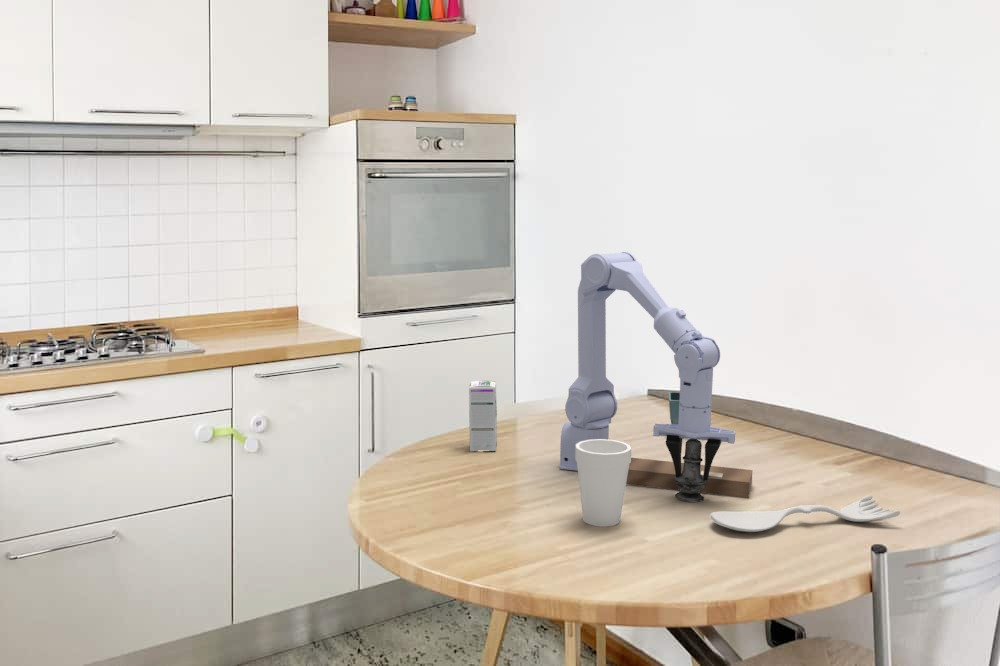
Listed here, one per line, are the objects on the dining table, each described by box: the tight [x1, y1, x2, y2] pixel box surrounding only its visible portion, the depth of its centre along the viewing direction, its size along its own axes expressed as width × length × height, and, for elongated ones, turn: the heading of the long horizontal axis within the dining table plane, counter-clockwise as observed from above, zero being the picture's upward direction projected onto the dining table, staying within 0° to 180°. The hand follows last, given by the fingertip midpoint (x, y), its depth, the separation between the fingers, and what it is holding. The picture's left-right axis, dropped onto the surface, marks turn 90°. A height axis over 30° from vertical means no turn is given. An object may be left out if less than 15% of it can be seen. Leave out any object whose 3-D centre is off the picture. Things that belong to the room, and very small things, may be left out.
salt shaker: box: [674, 438, 707, 503], centre depth 172 cm, size 6×6×12 cm
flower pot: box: [668, 391, 680, 424], centre depth 216 cm, size 9×9×9 cm
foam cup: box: [575, 439, 632, 528], centre depth 160 cm, size 10×9×13 cm
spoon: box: [710, 494, 901, 533], centre depth 159 cm, size 9×32×4 cm, turn 101°
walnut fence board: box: [626, 457, 753, 499], centre depth 180 cm, size 24×8×3 cm, turn 71°
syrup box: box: [468, 380, 498, 452], centre depth 202 cm, size 6×6×14 cm
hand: (692, 477), depth 172 cm, fingers open, 4 cm apart
